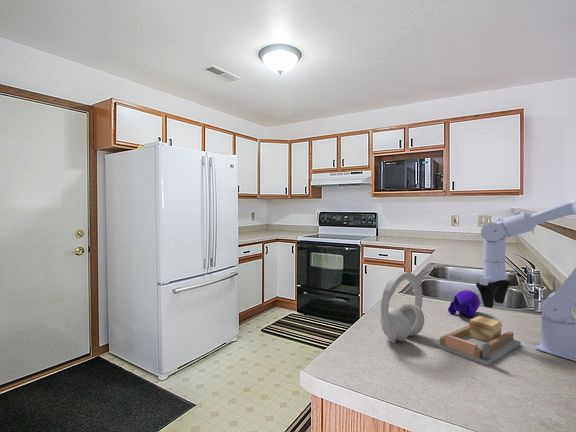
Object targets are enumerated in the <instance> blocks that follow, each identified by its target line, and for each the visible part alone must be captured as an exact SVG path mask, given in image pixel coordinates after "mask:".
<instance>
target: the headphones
mask: <svg viewBox="0 0 576 432" xmlns="http://www.w3.org/2000/svg"><path fill="white" fill-rule="evenodd" d="M405 280H407V282H409V284H410V286H411V287H412V288H413V290H414V296H415V297H414V298H415V299H414V303H409V302H407V303H404V304H402V305H401V306H399V308H398V309H397V308H395V307H390V300H391V299H392V297H393V296H394V293H395V291H396V289H397V288H398V286H399V285H400V284H401V283H403V281H405ZM422 307H423V289H422V285H421V282H420V280H419V278H418V277H417V276H416V275H415V274H413V273H411V272H406V271H399V272H396V273H395V274H393V275H392V276H391V277H390V278H389V280H388V281H387V282H386V284H385V285H384V288H383V293H382V297H381V302H380V315H381V316H380V317H379V318H380V324H381V329H382V332H383V334H384V335H385V337H387V339H388V342H389V343H392V344H396V342H405V340H406V339H407V338H408V337H414V336H417V335H418V334H419V333H421V331H422V330H423V327H424V325H425V314H424V312H423V310H422Z"/></svg>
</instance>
